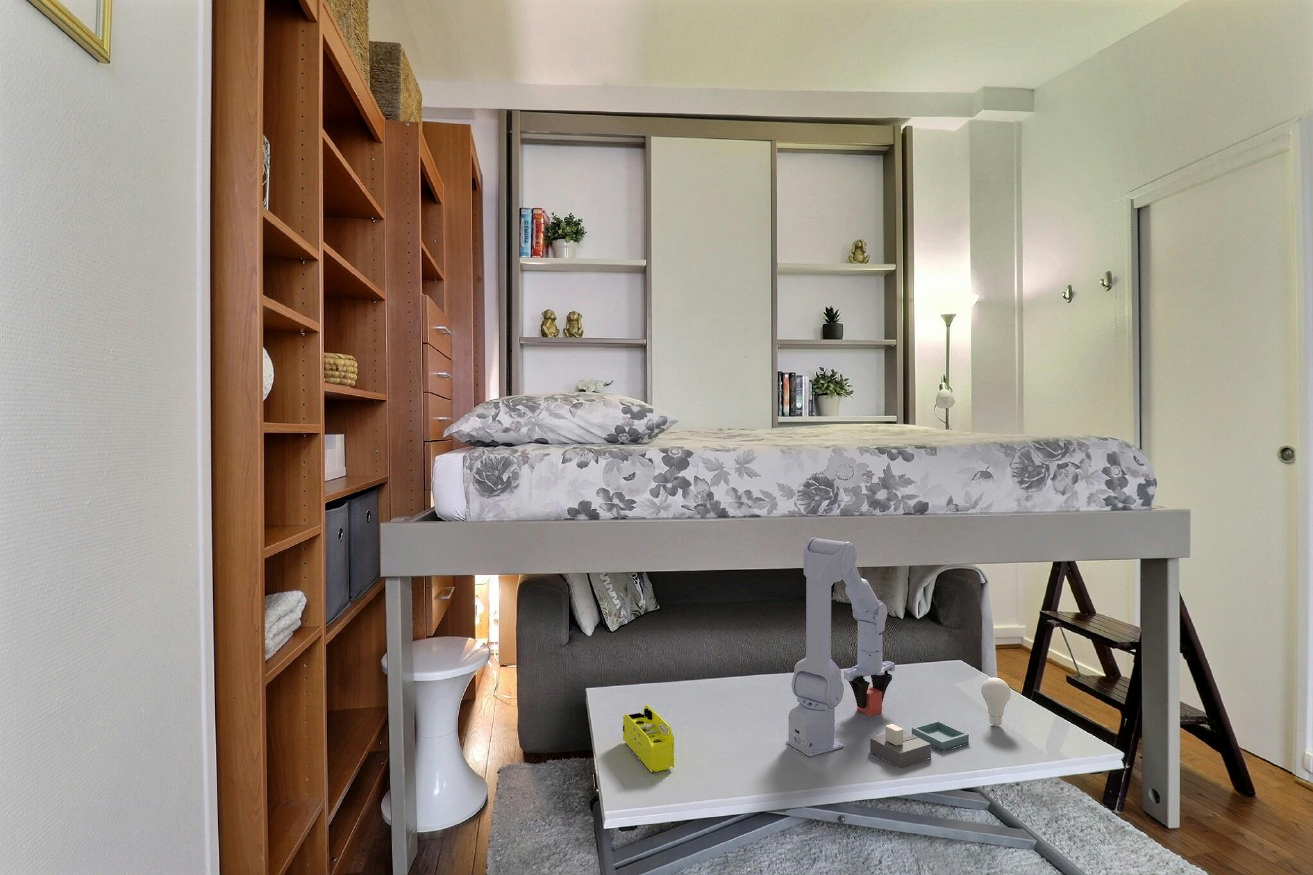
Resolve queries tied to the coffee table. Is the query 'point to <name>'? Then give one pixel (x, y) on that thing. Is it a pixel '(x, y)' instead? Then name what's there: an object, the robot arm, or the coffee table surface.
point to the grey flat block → (901, 750)
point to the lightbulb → (995, 698)
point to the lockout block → (872, 702)
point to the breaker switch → (894, 734)
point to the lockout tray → (941, 735)
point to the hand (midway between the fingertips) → (869, 704)
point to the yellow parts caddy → (649, 739)
